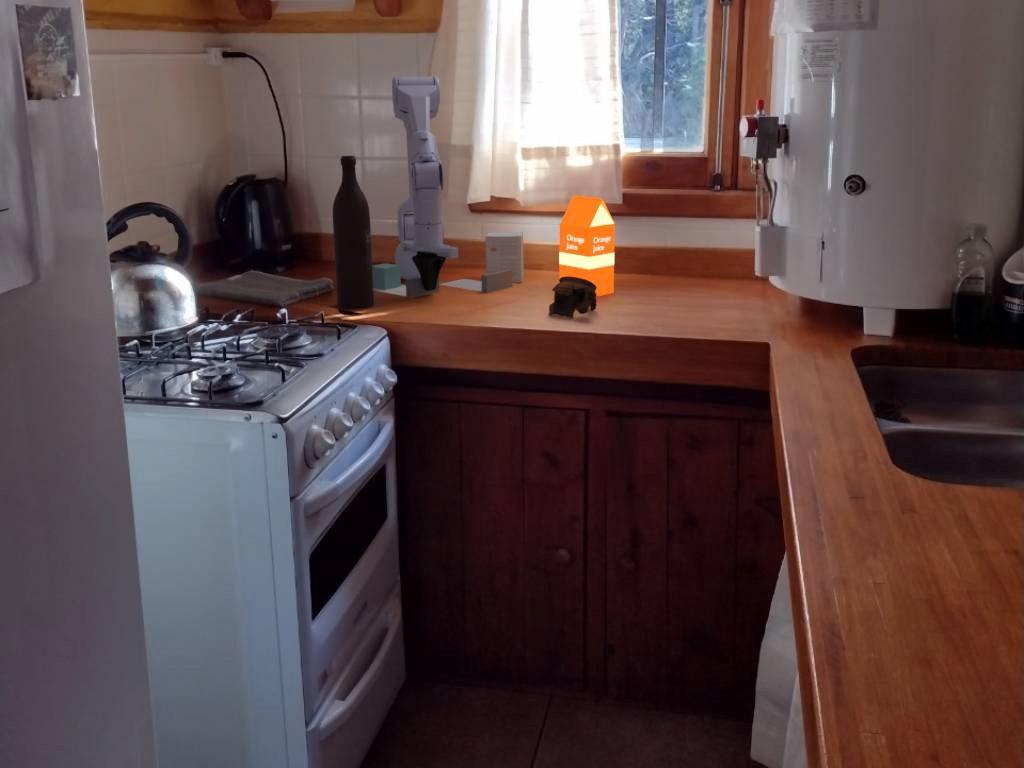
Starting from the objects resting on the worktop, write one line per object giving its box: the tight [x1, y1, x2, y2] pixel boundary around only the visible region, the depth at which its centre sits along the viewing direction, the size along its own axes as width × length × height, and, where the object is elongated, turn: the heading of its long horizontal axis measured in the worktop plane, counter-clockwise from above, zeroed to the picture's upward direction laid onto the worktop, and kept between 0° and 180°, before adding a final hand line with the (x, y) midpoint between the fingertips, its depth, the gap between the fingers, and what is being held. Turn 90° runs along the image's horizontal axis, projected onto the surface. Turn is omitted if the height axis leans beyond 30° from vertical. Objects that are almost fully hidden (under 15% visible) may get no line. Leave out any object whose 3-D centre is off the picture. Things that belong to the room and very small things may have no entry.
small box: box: [485, 231, 525, 284], centre depth 236 cm, size 8×6×10 cm
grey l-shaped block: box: [439, 269, 514, 294], centre depth 225 cm, size 14×8×4 cm, turn 49°
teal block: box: [372, 263, 402, 290], centre depth 225 cm, size 4×4×4 cm
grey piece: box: [373, 275, 440, 298], centre depth 223 cm, size 18×8×4 cm, turn 49°
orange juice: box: [558, 195, 616, 297], centre depth 221 cm, size 8×9×20 cm
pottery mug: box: [548, 276, 598, 319], centre depth 204 cm, size 12×10×8 cm
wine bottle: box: [332, 155, 375, 316], centre depth 204 cm, size 7×7×30 cm
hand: (430, 289), depth 216 cm, fingers closed
